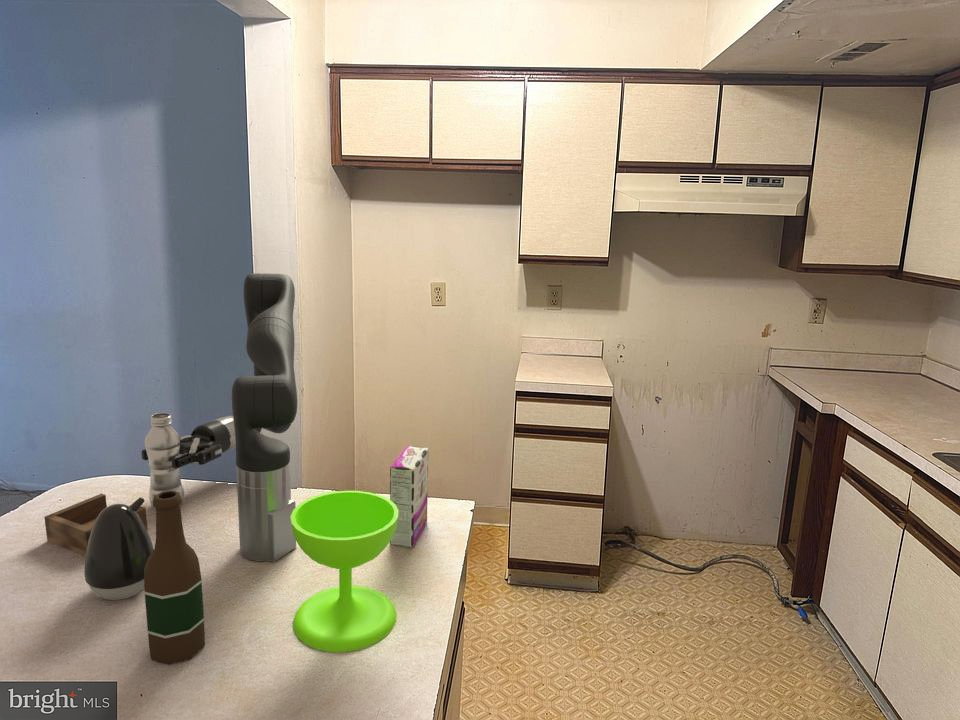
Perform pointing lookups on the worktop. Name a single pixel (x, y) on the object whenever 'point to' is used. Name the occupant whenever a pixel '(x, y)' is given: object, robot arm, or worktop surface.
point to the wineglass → (344, 568)
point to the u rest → (78, 523)
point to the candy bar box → (409, 494)
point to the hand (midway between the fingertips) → (157, 459)
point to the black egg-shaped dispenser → (117, 552)
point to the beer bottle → (173, 588)
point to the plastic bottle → (163, 456)
